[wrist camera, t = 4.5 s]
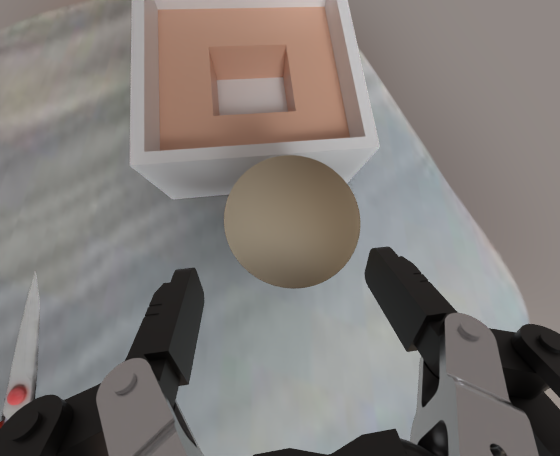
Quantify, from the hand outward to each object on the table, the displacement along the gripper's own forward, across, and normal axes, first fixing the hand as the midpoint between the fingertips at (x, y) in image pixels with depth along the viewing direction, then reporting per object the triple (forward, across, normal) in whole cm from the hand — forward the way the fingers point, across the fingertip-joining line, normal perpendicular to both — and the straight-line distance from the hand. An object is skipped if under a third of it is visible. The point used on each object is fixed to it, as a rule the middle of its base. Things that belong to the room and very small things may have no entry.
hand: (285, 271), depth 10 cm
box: (+16, 0, -5) cm, 16 cm away
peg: (+6, 0, +4) cm, 8 cm away
